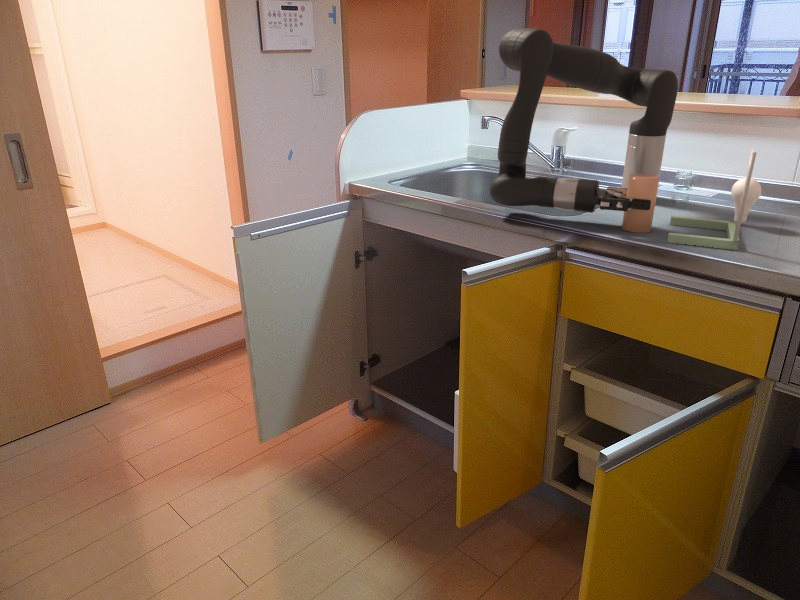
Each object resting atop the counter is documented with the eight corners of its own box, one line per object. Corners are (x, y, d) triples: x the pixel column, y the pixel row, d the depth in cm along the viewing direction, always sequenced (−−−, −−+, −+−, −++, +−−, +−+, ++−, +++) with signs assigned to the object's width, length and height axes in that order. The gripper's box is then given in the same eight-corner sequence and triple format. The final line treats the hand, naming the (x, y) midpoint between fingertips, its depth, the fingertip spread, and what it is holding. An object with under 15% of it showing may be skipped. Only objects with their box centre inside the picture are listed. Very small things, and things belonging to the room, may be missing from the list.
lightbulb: (728, 219, 152) (737, 174, 147) (756, 223, 148) (766, 177, 144) (721, 224, 147) (731, 178, 143) (750, 229, 144) (760, 181, 139)
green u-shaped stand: (670, 223, 149) (684, 137, 141) (733, 229, 144) (752, 141, 136) (667, 242, 134) (683, 148, 127) (737, 250, 129) (758, 153, 122)
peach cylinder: (623, 223, 148) (630, 172, 143) (651, 226, 145) (660, 175, 141) (620, 230, 142) (627, 178, 138) (650, 233, 140) (658, 180, 135)
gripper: (572, 184, 139) (652, 191, 133) (582, 173, 151) (656, 179, 145) (568, 217, 142) (647, 225, 136) (578, 203, 154) (650, 210, 148)
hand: (651, 201), depth 141 cm, fingers closed on peach cylinder, 6 cm apart
